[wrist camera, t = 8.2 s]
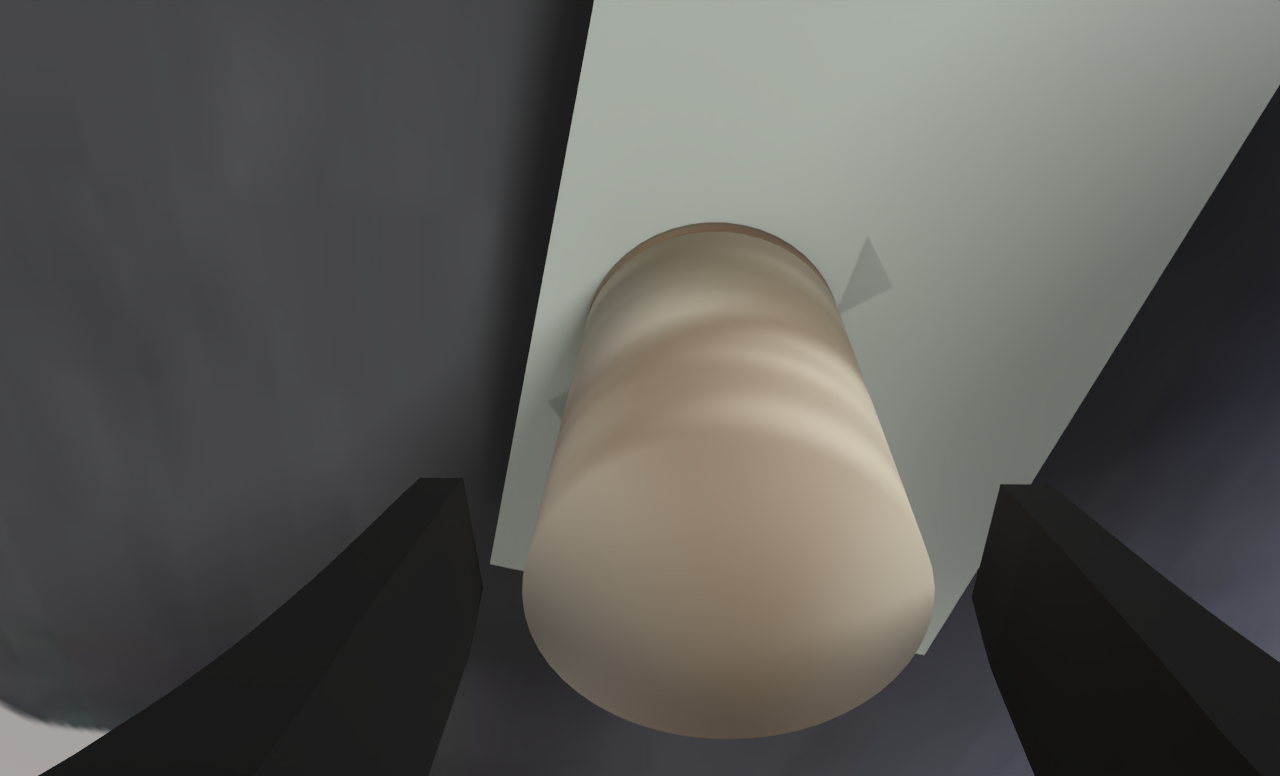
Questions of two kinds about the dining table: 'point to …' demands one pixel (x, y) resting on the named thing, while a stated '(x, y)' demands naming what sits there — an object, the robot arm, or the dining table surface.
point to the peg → (723, 501)
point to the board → (908, 204)
